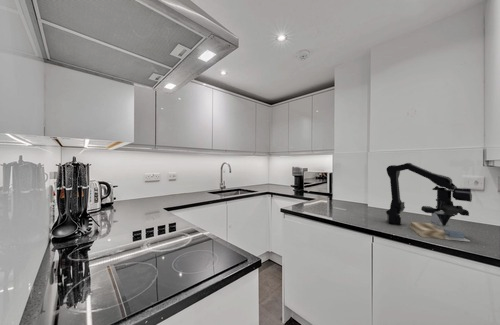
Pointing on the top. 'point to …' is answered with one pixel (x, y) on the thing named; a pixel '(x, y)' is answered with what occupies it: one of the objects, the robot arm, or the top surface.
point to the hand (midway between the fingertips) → (443, 225)
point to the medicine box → (437, 219)
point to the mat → (455, 238)
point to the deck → (427, 230)
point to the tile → (454, 233)
